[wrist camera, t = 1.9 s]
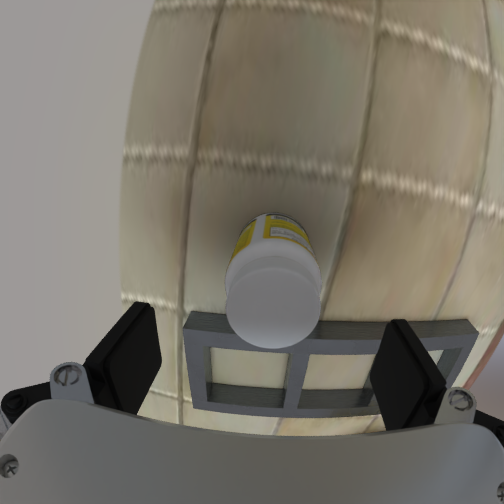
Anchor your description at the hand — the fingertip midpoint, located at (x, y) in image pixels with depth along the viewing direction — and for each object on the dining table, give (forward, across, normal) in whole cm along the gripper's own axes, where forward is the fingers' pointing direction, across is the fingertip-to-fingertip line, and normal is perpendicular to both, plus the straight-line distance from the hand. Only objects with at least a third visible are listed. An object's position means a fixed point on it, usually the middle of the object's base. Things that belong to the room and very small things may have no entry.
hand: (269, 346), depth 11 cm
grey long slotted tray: (+10, -6, +9) cm, 15 cm away
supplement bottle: (+10, 0, -1) cm, 10 cm away
